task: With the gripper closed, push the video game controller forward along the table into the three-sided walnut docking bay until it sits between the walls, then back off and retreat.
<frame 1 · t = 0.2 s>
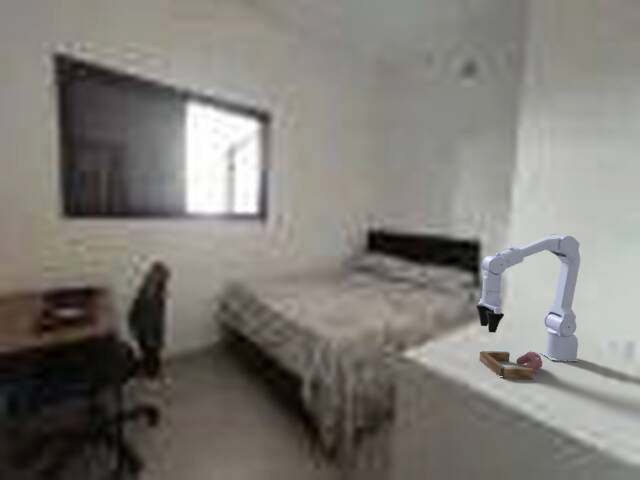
hand: (488, 328, 152), 10 cm above the table, tool pointing down, fingers open, 7 cm apart
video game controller: (528, 370, 142), on the table
docking bay: (508, 368, 142), on the table
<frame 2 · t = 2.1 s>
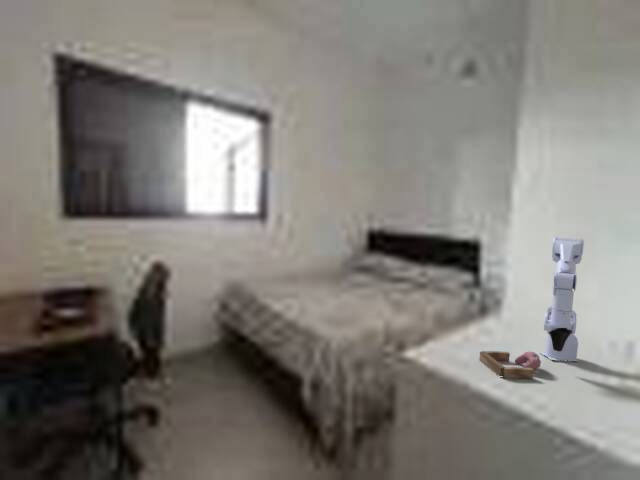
hand: (557, 350, 142), 7 cm above the table, tool pointing down, fingers closed
nothing on the table moved.
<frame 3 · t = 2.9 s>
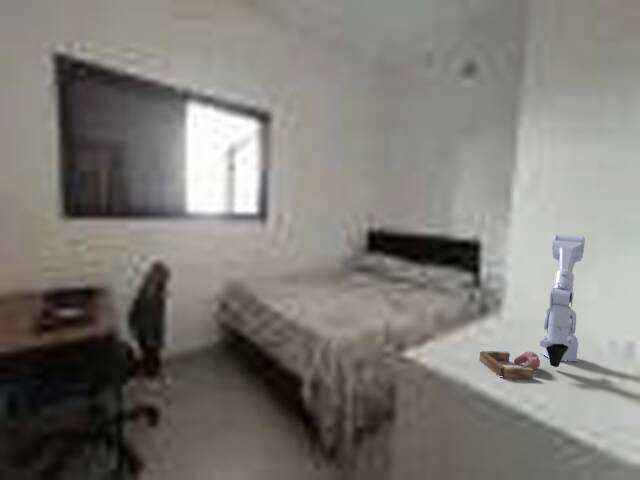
hand: (554, 365, 143), 1 cm above the table, tool pointing down, fingers closed
nothing on the table moved.
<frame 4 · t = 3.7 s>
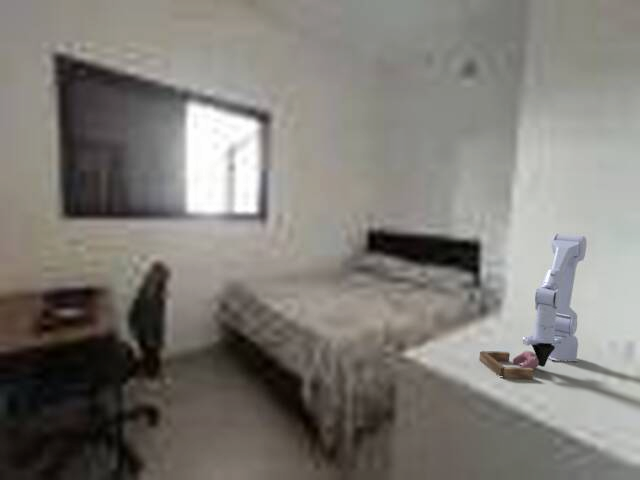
hand: (540, 365, 142), 1 cm above the table, tool pointing down, fingers closed
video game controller: (525, 369, 142), on the table, touching gripper
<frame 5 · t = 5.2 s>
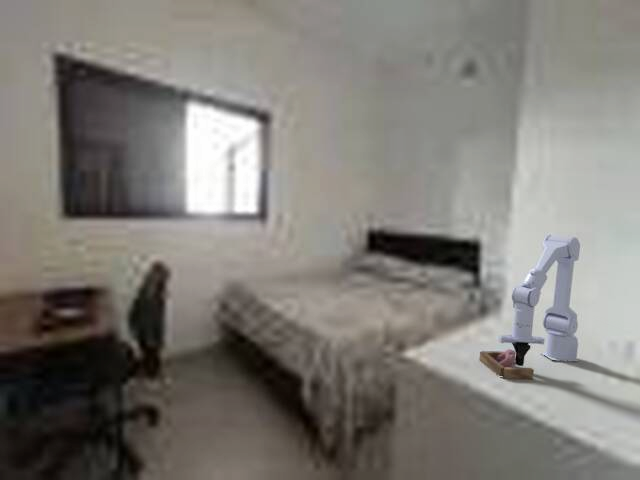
hand: (518, 364, 141), 2 cm above the table, tool pointing down, fingers closed, pressing on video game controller
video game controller: (505, 367, 143), on the table, touching docking bay, gripper
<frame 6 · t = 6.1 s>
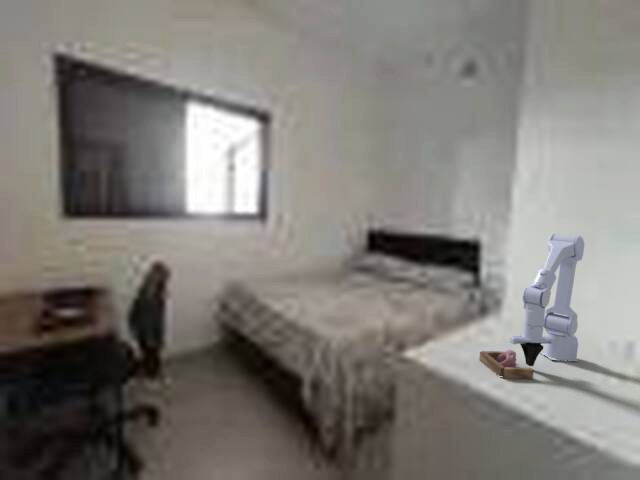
hand: (529, 365, 142), 1 cm above the table, tool pointing down, fingers closed
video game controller: (505, 368, 143), on the table
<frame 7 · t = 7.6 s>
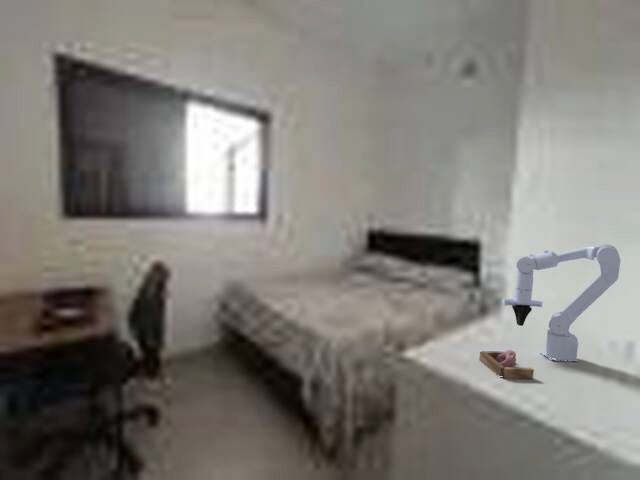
hand: (519, 324, 162), 9 cm above the table, tool pointing down, fingers closed
nothing on the table moved.
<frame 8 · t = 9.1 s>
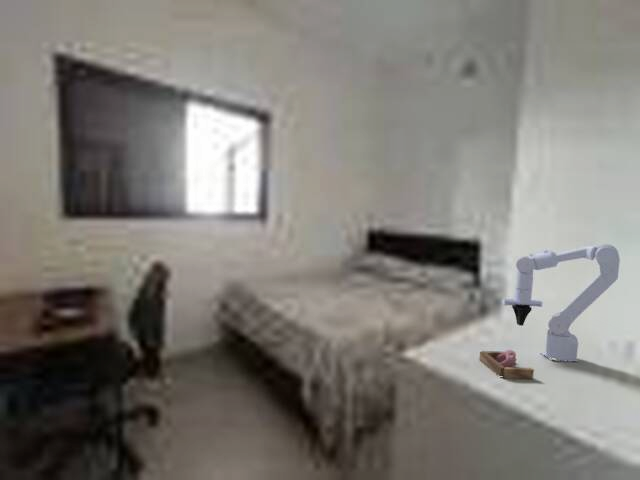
hand: (519, 324, 162), 9 cm above the table, tool pointing down, fingers closed
nothing on the table moved.
at the end: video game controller 1.3 cm off-centre on the docking bay, point 0.0 cm above the docking bay's base; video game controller moved 7.7 cm from its start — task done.
